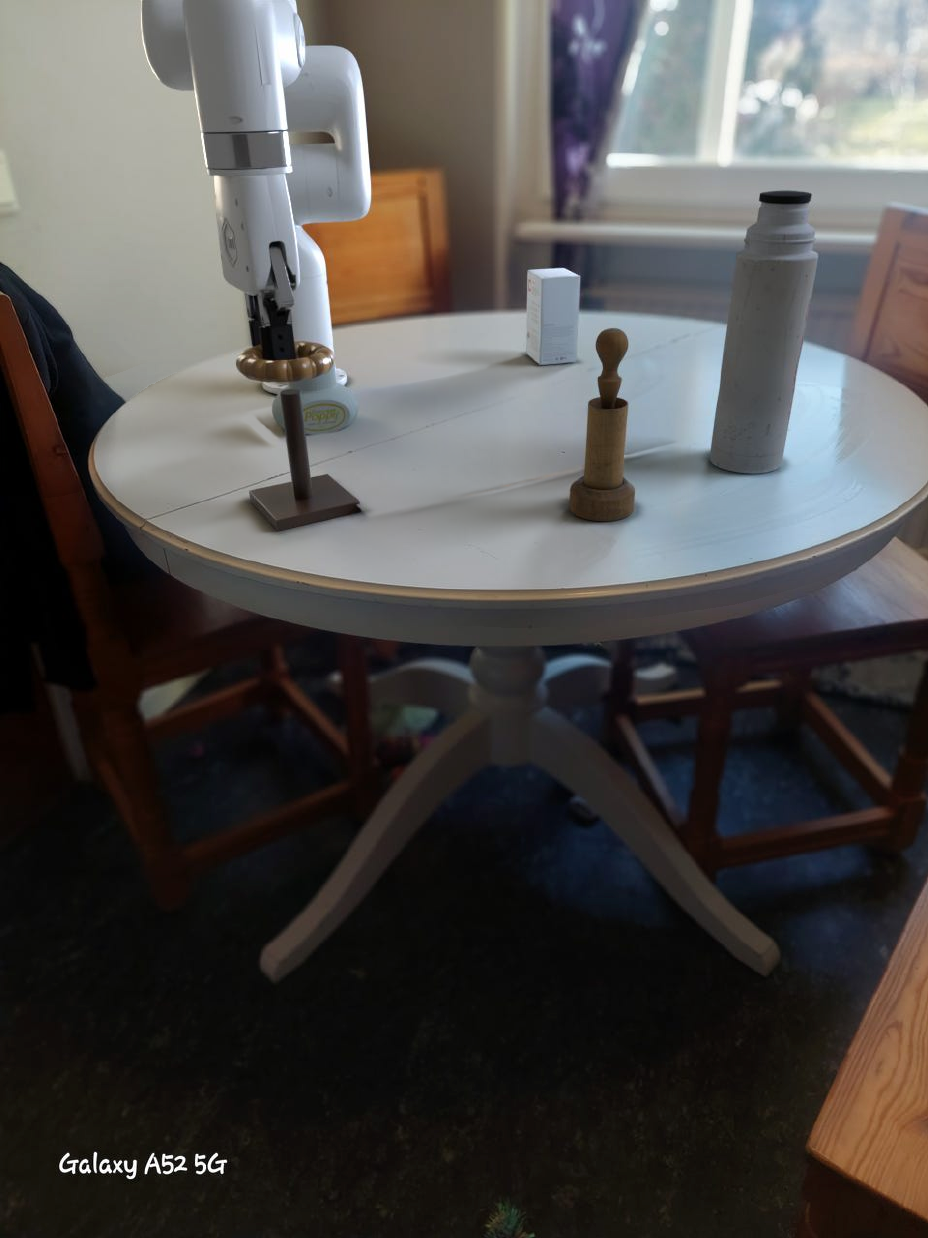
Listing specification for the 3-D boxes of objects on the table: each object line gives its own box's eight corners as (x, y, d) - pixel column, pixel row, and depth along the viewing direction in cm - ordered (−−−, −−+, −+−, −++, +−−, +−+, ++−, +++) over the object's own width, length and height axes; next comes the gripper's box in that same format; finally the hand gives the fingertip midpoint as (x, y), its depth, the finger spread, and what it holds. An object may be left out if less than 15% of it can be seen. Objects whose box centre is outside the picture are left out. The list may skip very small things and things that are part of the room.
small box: (577, 362, 138) (581, 275, 131) (539, 365, 137) (541, 277, 130) (561, 350, 145) (564, 266, 138) (524, 353, 143) (526, 269, 137)
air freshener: (352, 416, 117) (345, 340, 112) (366, 435, 111) (359, 355, 105) (271, 426, 114) (260, 348, 109) (280, 446, 108) (269, 365, 103)
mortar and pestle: (592, 527, 86) (603, 340, 77) (556, 504, 91) (563, 326, 82) (646, 512, 88) (663, 331, 79) (609, 491, 93) (621, 318, 84)
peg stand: (250, 500, 93) (232, 387, 87) (328, 483, 97) (316, 374, 91) (277, 531, 87) (260, 411, 80) (360, 511, 90) (350, 395, 84)
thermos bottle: (777, 450, 103) (823, 187, 88) (784, 475, 96) (835, 195, 82) (708, 447, 104) (742, 187, 90) (710, 471, 98) (747, 195, 83)
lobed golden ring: (227, 367, 86) (224, 346, 85) (315, 354, 90) (312, 334, 89) (255, 390, 79) (252, 368, 78) (349, 375, 83) (347, 354, 82)
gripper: (183, 153, 82) (216, 351, 92) (232, 161, 70) (264, 388, 80) (260, 149, 85) (284, 341, 95) (320, 156, 73) (340, 375, 83)
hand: (275, 361), depth 87 cm, fingers closed on lobed golden ring, 2 cm apart
